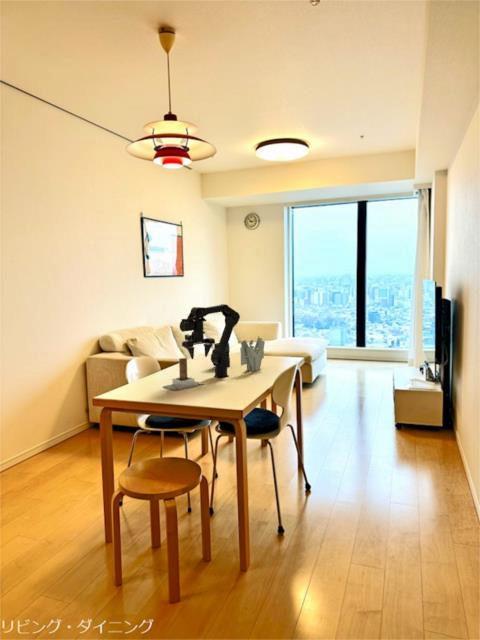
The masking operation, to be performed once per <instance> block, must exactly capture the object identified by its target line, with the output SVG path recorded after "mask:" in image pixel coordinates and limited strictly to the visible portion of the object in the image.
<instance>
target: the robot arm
mask: <svg viewBox="0 0 480 640" xmlns="http://www.w3.org/2000/svg"><path fill="white" fill-rule="evenodd" d="M216 313H221V314H222V316H223V317H224V325H225V326H224V329H223V330H222V333H221V336H220V340H219V342H218V343H219V345H218V348H217V349H216V350H214V349H212V347H213V346H214V344H216V340H215V338H212V337H207V338H206V337H204V336H205V335H204V334H206V332H205V331H204V322H207V319H206V318H205V317H206V316H209V315H211V314H216ZM240 318H241V315H240V313H239V312H238V311H236V310H235V309H233V308H232V307H230V306H229V305H228V304H225V303H223V304H218V305H213V306H207V307H202V306H201V307H200V306H199V307H196V306H193V307H191V309H190V313H189V314H188V316H187V318H181V321H180V323H179V329H180V331H181V332H183V333H184V332H191V334H189V333H188V334H186V333H185V334H184V340H183V341H182V342H181V347H184V349H186V350H187V351H188V354H189V357H190V358H191V360H194V355H195V345H203V347H204V357H205V358H207V357H208V355H209V352H210V350H211V349H212V352H211V355H210V361H211V363H212V365H213V366H214V375H213V377H214V378H218V379H223V378H228V377H230V375H229V374H228V368H227V367H228V366H229V362H228V361H227V360H226V348H227V345H228V343H229V342H230V339H231V336H232V333H233V329H234V328H235V327H236V326H237V324H238V323H239V320H240Z"/></svg>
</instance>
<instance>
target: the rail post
mask: <svg viewBox="0 0 480 640" xmlns="http://www.w3.org/2000/svg"><path fill="white" fill-rule="evenodd" d="M178 364H179V377H180V380H187V377H188V358H186V357H182V358H179V360H178Z"/></svg>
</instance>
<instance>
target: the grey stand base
mask: <svg viewBox="0 0 480 640" xmlns="http://www.w3.org/2000/svg"><path fill="white" fill-rule="evenodd" d="M171 380H172V383H171V384H168V385H162V388H164V389H168V390H171V391H174V392H176V391H177V392H178V391H182V390H187V389H191V388H196V387H200V386H204V385H205V383H203V382H198V381H195V378H193V377H189V376H187V380H180V376H179V377H176V378H175V377H174V378H172V379H171Z"/></svg>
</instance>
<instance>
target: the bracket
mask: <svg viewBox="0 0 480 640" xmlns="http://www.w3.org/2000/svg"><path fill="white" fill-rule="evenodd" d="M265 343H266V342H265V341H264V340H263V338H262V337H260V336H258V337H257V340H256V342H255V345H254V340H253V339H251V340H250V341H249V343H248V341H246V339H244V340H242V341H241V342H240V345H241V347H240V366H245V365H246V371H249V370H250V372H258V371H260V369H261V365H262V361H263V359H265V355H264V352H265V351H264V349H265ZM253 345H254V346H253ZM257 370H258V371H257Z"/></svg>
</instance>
